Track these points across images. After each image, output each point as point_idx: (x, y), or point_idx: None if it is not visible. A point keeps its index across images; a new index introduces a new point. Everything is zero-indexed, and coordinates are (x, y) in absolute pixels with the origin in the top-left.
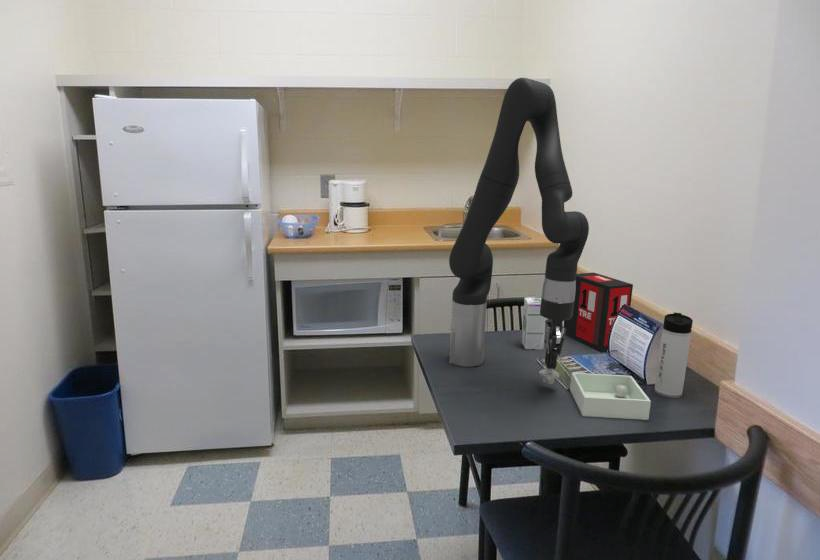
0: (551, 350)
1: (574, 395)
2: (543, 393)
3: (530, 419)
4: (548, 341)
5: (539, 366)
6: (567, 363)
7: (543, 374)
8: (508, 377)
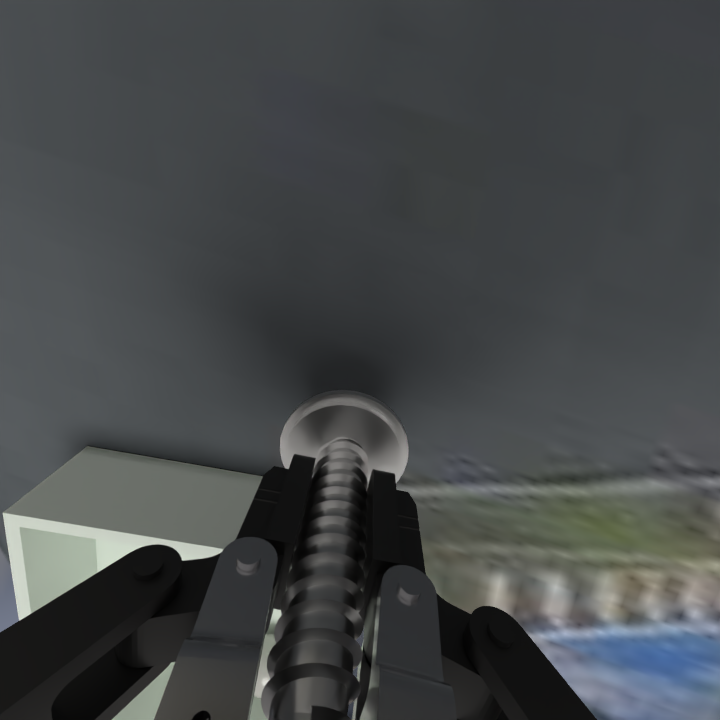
0: (71, 600)
1: (252, 491)
2: (338, 373)
3: (30, 206)
4: (166, 690)
5: (671, 464)
6: (664, 590)
7: (313, 410)
8: (570, 249)
